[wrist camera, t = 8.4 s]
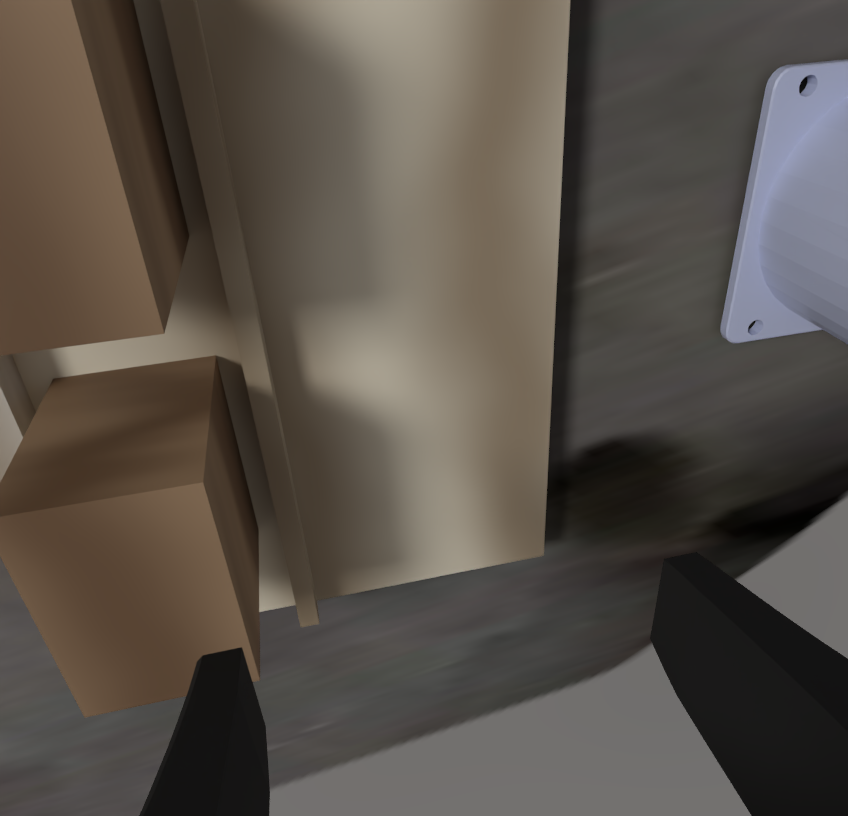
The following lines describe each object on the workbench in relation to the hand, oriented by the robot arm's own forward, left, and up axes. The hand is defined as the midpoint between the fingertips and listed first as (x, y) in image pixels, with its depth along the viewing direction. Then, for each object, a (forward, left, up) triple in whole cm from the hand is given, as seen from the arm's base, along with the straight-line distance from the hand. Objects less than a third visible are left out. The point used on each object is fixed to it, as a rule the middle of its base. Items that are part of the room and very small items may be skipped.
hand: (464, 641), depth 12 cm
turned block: (+6, -8, -9) cm, 13 cm away
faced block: (+6, +1, -9) cm, 11 cm away
